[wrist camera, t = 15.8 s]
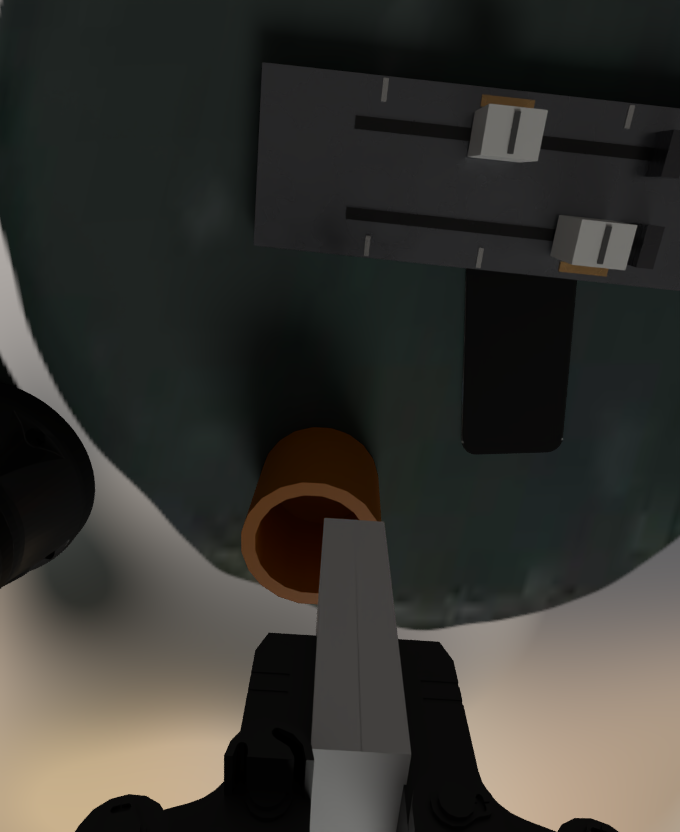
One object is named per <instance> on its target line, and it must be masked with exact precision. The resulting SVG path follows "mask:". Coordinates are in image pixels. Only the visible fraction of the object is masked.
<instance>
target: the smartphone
mask: <svg viewBox="0 0 680 832" xmlns="http://www.w3.org/2000/svg"><path fill="white" fill-rule="evenodd" d="M576 285H577V280H573V279H564V278H554V277H545V276H536V275H526V274H517V273H507V272H498V271H489V270H479V269H470V268H466V292H465V330H464V368H463V381H462V404H463V405H462V445H463V447H464V449H465V450H466V451H467V452H469V453H471V454H508V453H540V452H551V451H553V450H555V449H557V448H558V447H559V446H560V444H561V442H562V440H563V430H564V419H565V408H566V397H567V385H568V374H569V363H570V352H571V341H572V330H573V319H574V308H575V296H576Z"/></svg>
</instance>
